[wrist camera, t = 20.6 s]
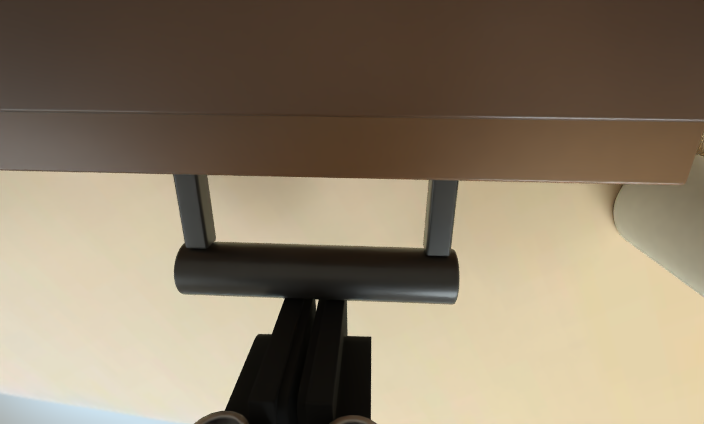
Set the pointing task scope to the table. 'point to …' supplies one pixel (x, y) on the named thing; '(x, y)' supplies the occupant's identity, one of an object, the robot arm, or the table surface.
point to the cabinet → (357, 58)
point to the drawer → (341, 162)
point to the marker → (667, 224)
